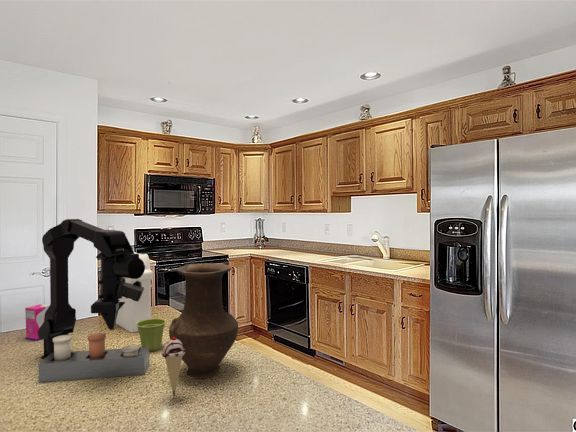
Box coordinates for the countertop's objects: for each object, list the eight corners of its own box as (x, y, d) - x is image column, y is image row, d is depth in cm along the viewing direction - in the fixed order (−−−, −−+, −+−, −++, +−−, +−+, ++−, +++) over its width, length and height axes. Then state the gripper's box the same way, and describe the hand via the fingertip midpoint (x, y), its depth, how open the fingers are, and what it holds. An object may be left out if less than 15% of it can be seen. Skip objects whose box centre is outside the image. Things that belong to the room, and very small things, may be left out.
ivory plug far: (120, 373, 109) (120, 351, 109) (124, 366, 113) (123, 345, 113) (137, 372, 110) (137, 349, 110) (140, 365, 114) (140, 344, 114)
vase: (164, 389, 99) (163, 273, 99) (174, 360, 118) (173, 262, 118) (239, 384, 102) (239, 271, 102) (237, 356, 121) (237, 261, 121)
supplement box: (41, 334, 144) (41, 303, 144) (51, 336, 141) (51, 305, 141) (25, 339, 139) (24, 307, 138) (35, 341, 136) (35, 308, 136)
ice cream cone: (172, 405, 91) (172, 342, 91) (156, 398, 94) (156, 337, 94) (190, 395, 96) (190, 335, 96) (174, 389, 99) (174, 331, 99)
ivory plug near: (50, 363, 106) (49, 340, 105) (57, 357, 110) (56, 335, 110) (68, 362, 106) (68, 339, 106) (74, 356, 111) (74, 334, 111)
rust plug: (85, 361, 107) (85, 338, 107) (91, 355, 112) (90, 333, 112) (103, 360, 108) (103, 337, 108) (108, 354, 113) (107, 332, 112)
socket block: (38, 382, 104) (38, 364, 103) (51, 370, 111) (51, 353, 111) (144, 374, 108) (144, 356, 108) (149, 363, 116) (149, 346, 116)
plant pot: (147, 355, 122) (146, 328, 122) (130, 349, 128) (130, 323, 128) (172, 347, 130) (171, 321, 130) (155, 341, 135) (155, 317, 135)
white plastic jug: (102, 321, 159) (101, 249, 159) (129, 316, 167) (129, 247, 166) (126, 338, 139) (126, 255, 139) (156, 331, 147) (156, 252, 146)
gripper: (135, 281, 103) (135, 339, 103) (146, 269, 121) (146, 318, 121) (90, 282, 100) (90, 341, 101) (108, 269, 119) (108, 320, 119)
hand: (111, 329), depth 111 cm, fingers closed
